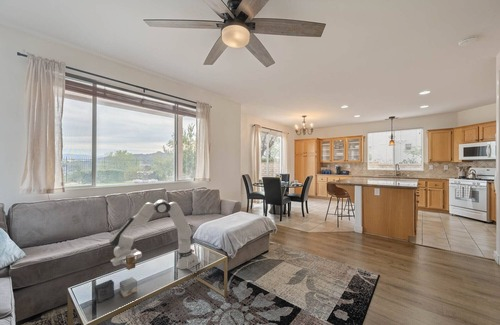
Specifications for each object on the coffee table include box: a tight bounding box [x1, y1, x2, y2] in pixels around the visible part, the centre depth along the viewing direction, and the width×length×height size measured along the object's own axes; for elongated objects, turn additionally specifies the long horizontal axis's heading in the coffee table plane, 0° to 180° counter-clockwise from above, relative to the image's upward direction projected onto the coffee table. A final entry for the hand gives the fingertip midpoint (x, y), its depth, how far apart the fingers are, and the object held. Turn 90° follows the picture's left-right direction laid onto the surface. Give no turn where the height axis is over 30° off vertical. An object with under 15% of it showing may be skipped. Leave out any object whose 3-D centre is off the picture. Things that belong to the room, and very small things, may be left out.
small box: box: [94, 279, 115, 304], centre depth 150 cm, size 11×6×10 cm, turn 141°
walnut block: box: [125, 254, 136, 271], centre depth 159 cm, size 5×5×9 cm
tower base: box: [119, 286, 138, 298], centre depth 158 cm, size 9×9×4 cm
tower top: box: [119, 276, 138, 292], centre depth 158 cm, size 9×9×4 cm
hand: (131, 261), depth 159 cm, fingers closed on walnut block, 5 cm apart
